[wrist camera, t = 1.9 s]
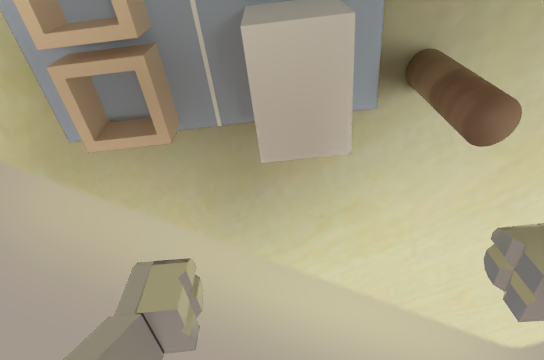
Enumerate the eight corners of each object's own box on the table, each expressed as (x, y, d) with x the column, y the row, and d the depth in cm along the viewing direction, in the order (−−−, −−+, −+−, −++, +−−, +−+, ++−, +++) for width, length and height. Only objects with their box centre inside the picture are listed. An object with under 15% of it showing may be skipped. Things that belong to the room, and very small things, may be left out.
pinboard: (386, -138, 19) (416, -155, 15) (371, 100, 27) (388, 126, 23) (-27, -79, 20) (-92, -83, 16) (77, 133, 28) (50, 163, 24)
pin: (450, 46, 25) (529, 92, 17) (442, 86, 27) (511, 143, 19) (408, 51, 25) (469, 99, 18) (403, 90, 27) (457, 149, 19)
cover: (333, -5, 21) (355, 12, 16) (334, 113, 26) (351, 153, 21) (245, 6, 22) (240, 26, 17) (261, 121, 26) (261, 163, 21)
